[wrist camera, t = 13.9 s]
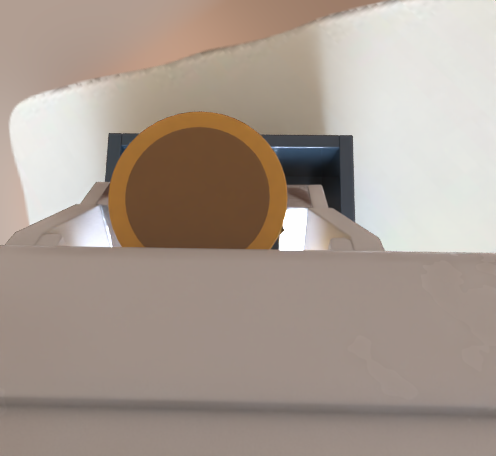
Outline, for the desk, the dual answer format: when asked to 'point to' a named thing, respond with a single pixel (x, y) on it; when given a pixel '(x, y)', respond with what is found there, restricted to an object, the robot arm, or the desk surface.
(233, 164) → the cup
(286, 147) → the open rectangular storage bin
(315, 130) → the desk surface
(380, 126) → the desk surface
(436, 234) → the desk surface
